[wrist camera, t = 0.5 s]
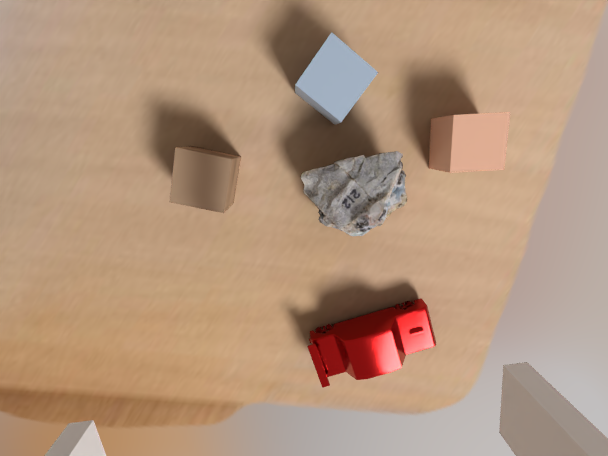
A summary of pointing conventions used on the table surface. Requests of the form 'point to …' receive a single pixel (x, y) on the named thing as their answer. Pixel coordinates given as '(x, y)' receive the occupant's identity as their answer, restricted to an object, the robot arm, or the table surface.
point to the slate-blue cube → (334, 80)
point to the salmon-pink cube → (469, 142)
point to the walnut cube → (204, 178)
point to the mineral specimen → (357, 191)
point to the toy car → (371, 342)
